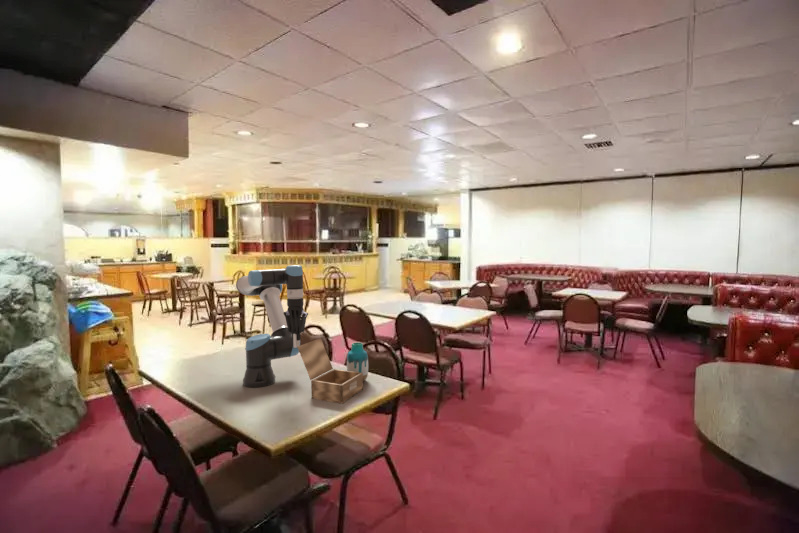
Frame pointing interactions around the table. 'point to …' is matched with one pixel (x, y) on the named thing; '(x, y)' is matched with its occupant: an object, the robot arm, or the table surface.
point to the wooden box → (337, 385)
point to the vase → (358, 360)
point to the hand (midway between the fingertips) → (296, 346)
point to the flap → (315, 358)
